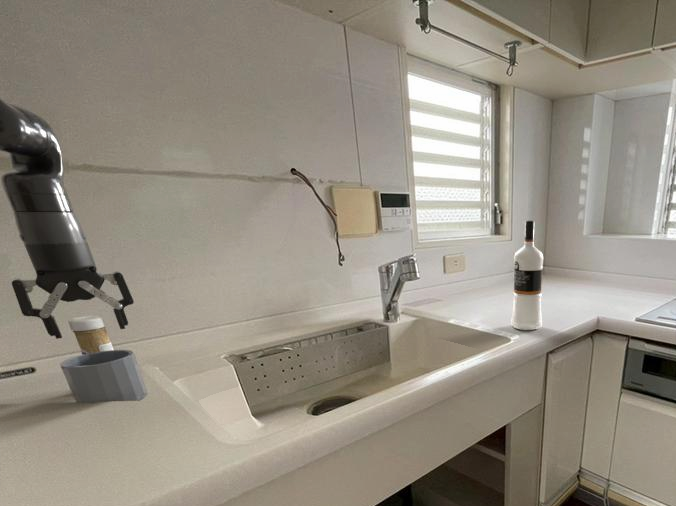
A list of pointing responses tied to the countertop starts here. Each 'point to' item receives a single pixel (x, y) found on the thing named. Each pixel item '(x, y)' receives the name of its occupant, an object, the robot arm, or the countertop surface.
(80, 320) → the sprinkles bottle
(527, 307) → the vodka
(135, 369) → the blue-grey round container
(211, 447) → the countertop surface
